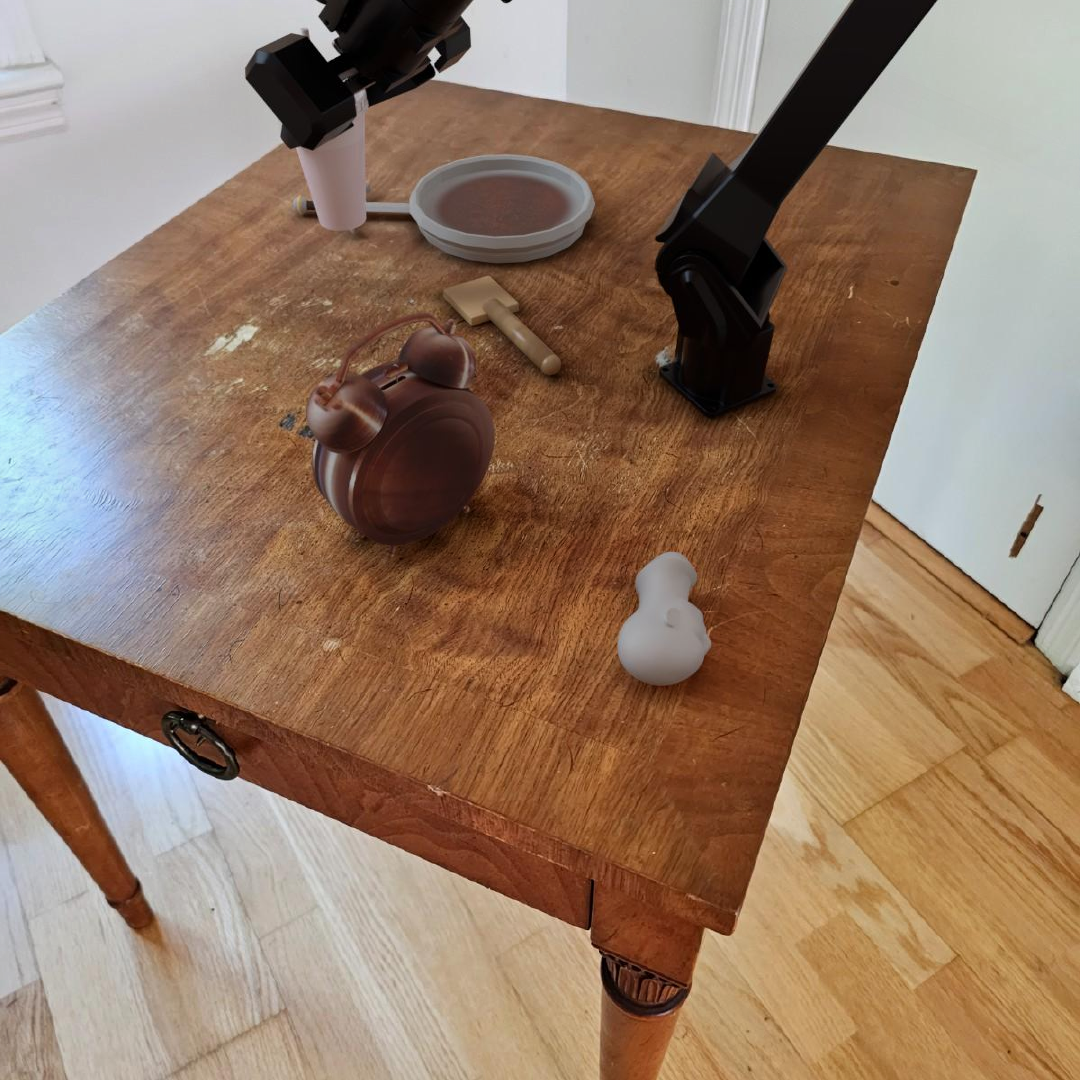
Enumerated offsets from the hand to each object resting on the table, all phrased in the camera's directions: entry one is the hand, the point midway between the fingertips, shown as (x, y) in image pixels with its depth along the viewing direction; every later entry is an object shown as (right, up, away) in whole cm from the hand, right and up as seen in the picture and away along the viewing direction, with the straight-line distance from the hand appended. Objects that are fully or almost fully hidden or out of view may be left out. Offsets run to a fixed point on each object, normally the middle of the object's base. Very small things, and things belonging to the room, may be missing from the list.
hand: (314, 126), depth 72 cm
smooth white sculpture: (+24, -37, -17) cm, 47 cm away
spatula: (+14, -14, +5) cm, 21 cm away
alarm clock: (+9, -30, -10) cm, 33 cm away
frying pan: (+8, -1, +18) cm, 19 cm away
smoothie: (+1, -6, +5) cm, 7 cm away
